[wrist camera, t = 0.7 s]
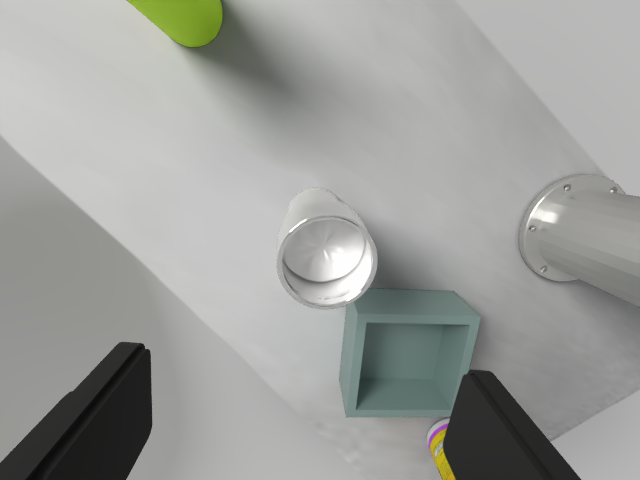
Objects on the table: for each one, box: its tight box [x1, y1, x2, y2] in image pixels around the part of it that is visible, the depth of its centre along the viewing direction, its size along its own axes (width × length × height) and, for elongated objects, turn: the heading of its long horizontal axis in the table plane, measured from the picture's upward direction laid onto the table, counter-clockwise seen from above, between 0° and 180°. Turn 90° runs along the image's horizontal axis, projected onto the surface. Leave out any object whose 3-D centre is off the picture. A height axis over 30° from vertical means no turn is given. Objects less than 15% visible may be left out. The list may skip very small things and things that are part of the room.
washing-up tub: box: [339, 288, 481, 417], centre depth 37 cm, size 13×13×6 cm
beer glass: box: [277, 188, 378, 309], centre depth 27 cm, size 7×7×15 cm
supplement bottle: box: [427, 418, 456, 480], centre depth 39 cm, size 7×7×13 cm
